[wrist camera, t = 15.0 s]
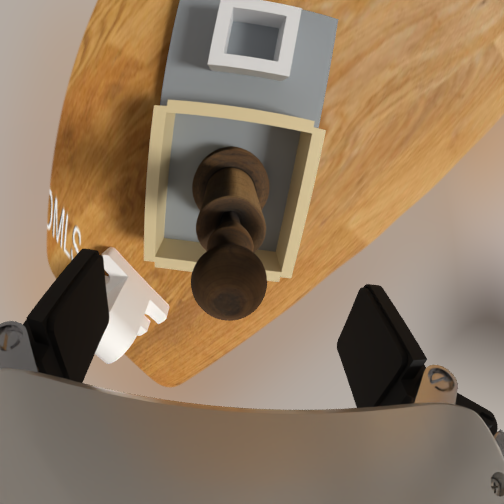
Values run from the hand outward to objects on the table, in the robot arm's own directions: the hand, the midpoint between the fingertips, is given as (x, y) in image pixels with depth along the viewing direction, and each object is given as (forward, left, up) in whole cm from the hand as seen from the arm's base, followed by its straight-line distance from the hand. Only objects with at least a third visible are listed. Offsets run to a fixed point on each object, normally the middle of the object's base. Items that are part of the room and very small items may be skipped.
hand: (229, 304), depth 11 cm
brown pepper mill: (0, 0, -19) cm, 19 cm away
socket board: (0, -5, -20) cm, 20 cm away
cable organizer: (+10, +14, -20) cm, 26 cm away
